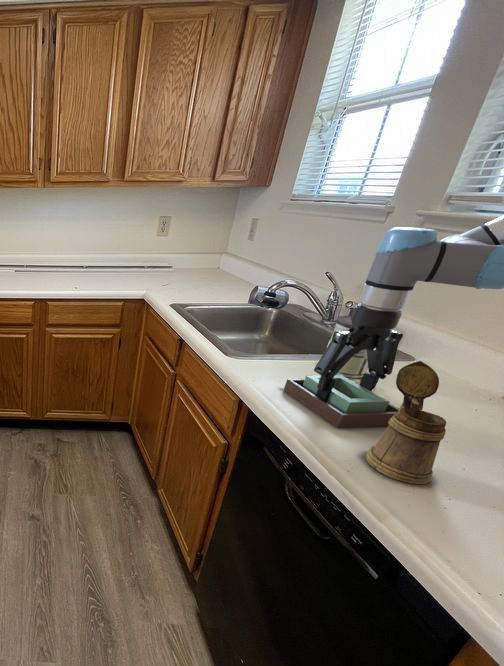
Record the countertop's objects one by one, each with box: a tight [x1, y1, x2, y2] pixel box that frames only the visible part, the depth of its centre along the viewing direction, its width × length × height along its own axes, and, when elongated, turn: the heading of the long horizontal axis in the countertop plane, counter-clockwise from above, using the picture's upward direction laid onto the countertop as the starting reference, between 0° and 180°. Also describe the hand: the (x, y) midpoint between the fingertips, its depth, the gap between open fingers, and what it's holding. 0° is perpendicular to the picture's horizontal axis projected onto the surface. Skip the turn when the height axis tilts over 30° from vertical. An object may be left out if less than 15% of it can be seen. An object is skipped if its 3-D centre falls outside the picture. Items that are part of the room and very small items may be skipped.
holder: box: [283, 378, 400, 429], centre depth 96 cm, size 17×15×3 cm
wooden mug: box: [365, 360, 447, 485], centre depth 74 cm, size 9×14×18 cm, turn 155°
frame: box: [302, 374, 391, 413], centre depth 95 cm, size 13×9×4 cm
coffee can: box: [325, 315, 368, 379], centre depth 111 cm, size 10×10×14 cm
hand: (339, 401), depth 96 cm, fingers closed on frame, 9 cm apart
